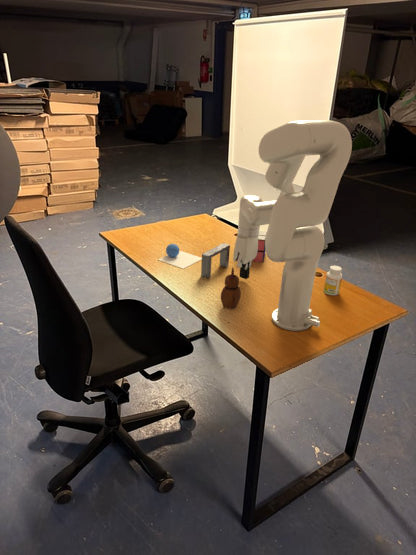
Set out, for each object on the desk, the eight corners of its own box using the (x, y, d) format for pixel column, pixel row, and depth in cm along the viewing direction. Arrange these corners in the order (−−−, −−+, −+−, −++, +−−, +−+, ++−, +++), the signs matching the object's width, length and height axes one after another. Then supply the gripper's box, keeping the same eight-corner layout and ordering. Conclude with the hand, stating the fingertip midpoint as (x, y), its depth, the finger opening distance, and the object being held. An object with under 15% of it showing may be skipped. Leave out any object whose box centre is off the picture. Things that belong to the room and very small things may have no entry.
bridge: (228, 266, 170) (230, 244, 165) (207, 278, 159) (208, 256, 155) (222, 264, 171) (223, 242, 167) (201, 276, 160) (201, 254, 156)
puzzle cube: (263, 263, 174) (265, 240, 170) (238, 260, 176) (240, 237, 171) (265, 253, 183) (267, 231, 179) (242, 250, 185) (243, 229, 180)
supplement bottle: (332, 287, 157) (337, 263, 152) (341, 294, 152) (347, 270, 148) (320, 289, 155) (325, 265, 151) (329, 296, 151) (334, 271, 146)
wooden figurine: (232, 313, 137) (236, 271, 131) (217, 307, 140) (220, 266, 133) (242, 304, 143) (246, 264, 136) (227, 299, 145) (230, 259, 139)
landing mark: (203, 258, 175) (203, 258, 175) (183, 269, 165) (183, 268, 165) (178, 250, 182) (178, 250, 181) (158, 260, 172) (158, 259, 172)
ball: (184, 251, 174) (177, 239, 175) (175, 255, 170) (168, 243, 170) (176, 257, 178) (169, 245, 178) (168, 261, 174) (161, 249, 174)
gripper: (249, 223, 157) (245, 268, 165) (228, 234, 146) (224, 281, 154) (267, 228, 153) (262, 273, 162) (246, 239, 142) (242, 287, 150)
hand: (244, 277), depth 158 cm, fingers closed
